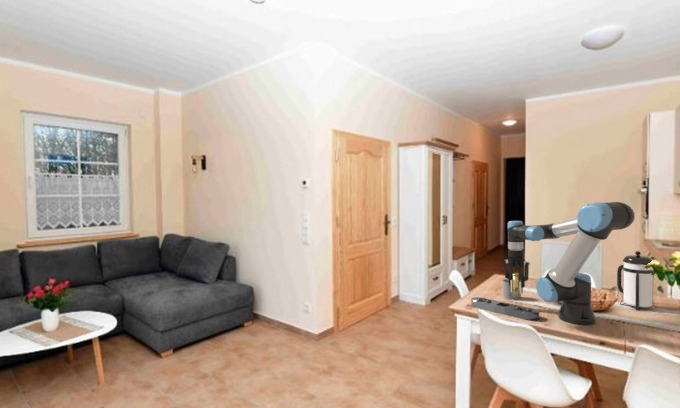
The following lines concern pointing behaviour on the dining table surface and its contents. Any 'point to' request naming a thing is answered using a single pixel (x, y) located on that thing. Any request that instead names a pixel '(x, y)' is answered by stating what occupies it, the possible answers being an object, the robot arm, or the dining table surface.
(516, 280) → the pin
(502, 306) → the long dark plank
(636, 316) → the dining table surface
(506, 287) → the cup
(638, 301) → the coffee press
